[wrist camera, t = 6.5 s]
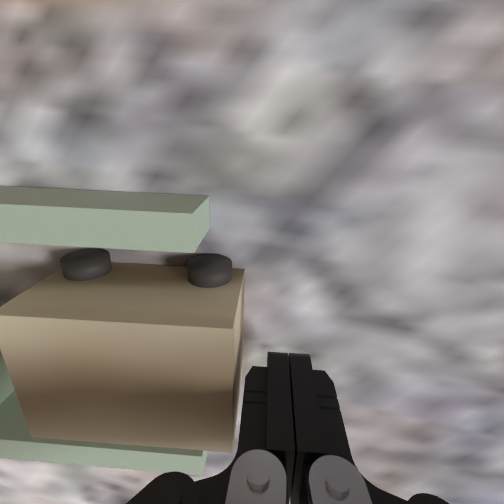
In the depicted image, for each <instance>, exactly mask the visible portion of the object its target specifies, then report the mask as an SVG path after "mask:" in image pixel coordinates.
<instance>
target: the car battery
mask: <svg viewBox="0 0 504 504" xmlns="http://www.w3.org/2000/svg"><path fill="white" fill-rule="evenodd" d="M60 262H61V266H62V267H61V268H59V269H58V270H56V271H55V272H53V273H52V274H50V275H49V276H47V277H45V278H44V279H42V280H41V281H39V282H38V283H36V284H35V285H33V286H31V287H30V288H28V289H27V290H25V291H24V292H22V293H21V294H19V295H18V296H16V297H14V298H13V299H11V300H10V301H8V302H7V303H5V304H4V305H2V306H1V307H0V350H1V353H2V356H3V358H4V361H5V364H6V367H7V370H8V372H9V375H10V378H11V381H12V384H13V386H14V389H15V392H16V395H17V398H18V400H19V403H20V406H21V409H22V412H23V414H24V417H25V420H26V423H27V426H28V429H29V431H30V434H31V437H36V438H49V439H62V440H75V441H88V442H101V443H114V444H126V445H139V446H152V447H165V448H178V449H191V450H203V451H216V452H229V453H232V452H233V444H234V436H235V428H236V419H237V411H238V403H239V395H240V387H241V378H242V370H243V326H244V271H245V269H236V268H232V261H231V260H230V259H229V258H228V257H226V256H223V255H217V254H204V255H199V256H195V257H193V258H191V259H190V260H189V261H188V262H187V266H175V265H154V264H134V263H114V262H111V260H110V254H109V252H108V251H107V250H104V249H84V250H78V251H74V252H71V253H69V254H66V255H65V256H63V257H62V258H61V259H60Z"/></svg>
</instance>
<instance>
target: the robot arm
mask: <svg viewBox="0 0 504 504" xmlns="http://www.w3.org/2000/svg"><path fill="white" fill-rule="evenodd" d="M289 499H290V504H449V503H448V502H446V501H444V500H443V499H441V498H439V497H437V496H434V495H431V494H427V493H420V494H416V495H414V496H412V497H411V498H410V499H409V500H408V501H406V500H404V499H401V498H399V497H397V496H394V495H392V494H390V493H387V492H385V491H383V490H381V489H379V488H377V487H375V486H374V485H372V484H371V483H370V482H369V481H367V480H366V479H365V478H364V477H363V476H362V474H361V473H360V472H359V471H358V469H357V467H356V466H355V464H354V462H353V459H352V456H351V452H350V448H349V444H348V440H347V436H346V432H345V427H344V423H343V419H342V415H341V411H340V407H339V403H338V399H337V395H336V391H335V387H334V383H333V381H332V380H331V379H330V377H329V376H328V375H327V373H326V372H325V371H322V370H312V364H311V358H310V355H309V354H295V353H289V356H288V353H278V352H268V357H267V367H258V366H252V368H251V369H250V371H249V372H248V374H247V375H246V377H245V387H244V396H243V405H242V414H241V424H240V433H239V442H238V450H237V453H236V456H235V458H234V460H233V462H232V463H231V464H230V465H229V466H228V467H227V469H225V470H224V471H223V472H221V473H219V474H218V475H215V476H213V477H209V478H206V479H202V480H199V481H195V482H194V481H193V479H192V478H191V477H189V476H188V475H186V474H185V473H182V472H177V471H174V472H167V473H164V474H162V475H160V476H158V477H156V478H155V479H154V480H152V481H151V482H150V483H149V484H148V485H147V486H146V487H144V488H143V489H142V490H141V491H140V492H139V493H138V494H137V495H135V496H134V497H133V498H132V499H131V500H130V501H129V502H128V503H126V504H289Z"/></svg>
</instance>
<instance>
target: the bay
mask: <svg viewBox="0 0 504 504" xmlns="http://www.w3.org/2000/svg"><path fill="white" fill-rule="evenodd" d="M209 229H210V206H209V196H201V195H181V194H160V193H139V192H119V191H98V190H77V189H57V188H36V187H16V186H0V242H6V243H23V244H41V245H58V246H76V247H94V248H111V249H129V250H147V251H164V252H182V253H194V252H195V251H196V249H197V247H198V246H199V244H200V243H201V241H202V240H203V238H204V236H205V235H206V233H207V232H208V230H209ZM206 456H207V451H203V450H191V449H178V448H165V447H152V446H139V445H126V444H114V443H101V442H88V441H75V440H62V439H49V438H36V437H31V434H30V431H29V429H28V426H27V423H26V420H25V417H24V414H23V412H22V409H21V406H20V403H19V400H18V398H17V395H16V392H15V390H14V387H13V384H12V381H11V378H10V375H9V372H8V370H7V367H6V364H5V361H4V358H3V356H2V353H1V350H0V458H8V459H19V460H31V461H42V462H53V463H65V464H76V465H87V466H99V467H110V468H122V469H133V470H144V471H156V472H174V471H177V472H182V473H185V474H190V475H201V476H203V472H204V467H205V461H206Z"/></svg>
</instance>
